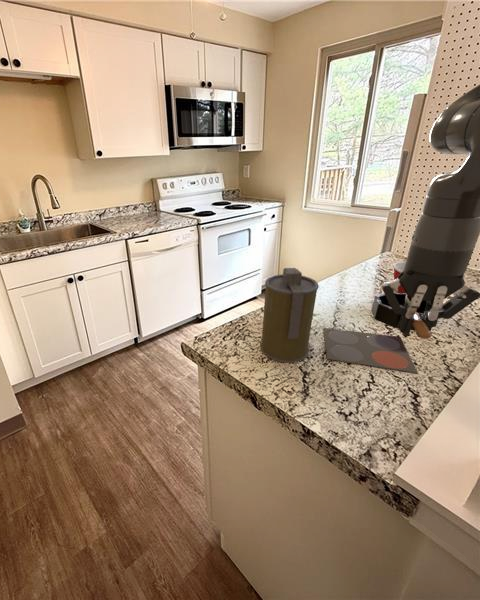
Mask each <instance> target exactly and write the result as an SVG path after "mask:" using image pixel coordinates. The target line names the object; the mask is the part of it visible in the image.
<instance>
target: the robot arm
mask: <svg viewBox="0 0 480 600" xmlns="http://www.w3.org/2000/svg"><path fill="white" fill-rule="evenodd" d="M429 143H430V146H431V147H432V149H433V150H434V151H436V152H437V153H440V154H444V155H469V156H468V157H467V158H466V160H465V162H463V164H462V165H461V167H460V168H459V169H458V170H456V171H450V172H445V173H442V174H439V175H437V176H436V177H434V178H433V179H432V181H431V183H430V184H429V188H428V190H427V193H426V198H425V201H424V204H423V208H422V212H421V214H420V217H419V219H418V221H417V224H416V226H415V228H414V232H413V234H412V237H411V242H410V247H409V250H408V253H407V257H406V261H405V262H406V263H405V267H404V270H403V272H402V273H401V274H400V275H399V276H398V279H396V280H394V279H393V280H390V281H387V280H382V281H381V282H380V283H379V285H380V287H381V290H382V291H383V294H384V293H385V295H386V297H387V299H388V301H389V303H390V305H391V307H392V309H393V311H394V313H395V314H400V315H401V318H400V322H399V325H398V328H399V329H398V330H399V332H400V333H401V334H402V336H403V337H410V334H411V331H412V330H411V327H412V324H413V321H414V318H413V317H414V315H415V313H416V310H417V308H419V306H420V304H421V301H426V305H425V309H424V315H421V318H422V320H423V321H424V323H425V324H426V326H427V327H428V329H429V330H430V332H431V331H432V328H433V327H432V326H433V323H434V321H435V320H436V319H438V320H440V319H444V320H450V319H451V318H453V317H454V316H456V315H457V314H458V313H459V312H461V311H463V310H464V309H465V308H467V307H468V306H469V305H471V304H472V303H473V302H475V301H476V300H478V299H479V298H480V292H479V291H478V290H477V289H476V288H475V287H473V286H468V285H467V284H465V283H466V282H465V279H464V276H465V273H466V272H467V269H468V266H469V264H470V261H471V259H472V256H473V254H474V250H475V247H476V246H477V245H476V244H477V242H478V239H479V237H480V84H478V85H476V86H475V87H473V88H471V89H470V90H469V91H467V92H466V93H464V94H463V95H461V96H460V97H458V98H457V99H456V100H455V101H453V102H452V103H451V104H449V105H448V106H447V107H446V108H445V109H444V110H443V111H442V112H441V114H440V115H439V116H438V117H437V119H436V120H435V122H434V123H433V126H432V128H431V130H430V133H429ZM400 285H401V286H402V288H403V289H404V291H405V292H406V297H405V303H404V305H403V306H402V305H400V304H399V302H398V300H397V298H396V296H395V294H394V293H397V292H398V287H399V286H400ZM454 293H455V295H454V296H452V297H451V298H449V299H448V300H447V301H446V302H444V301H445V299H446V298H448V297H450V296H451V295H453V294H454ZM431 333H432V332H431ZM415 334H416V336H417V338H421V337H420V336H419V335H418V333H417V331H415ZM421 339H422V338H421Z"/></svg>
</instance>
